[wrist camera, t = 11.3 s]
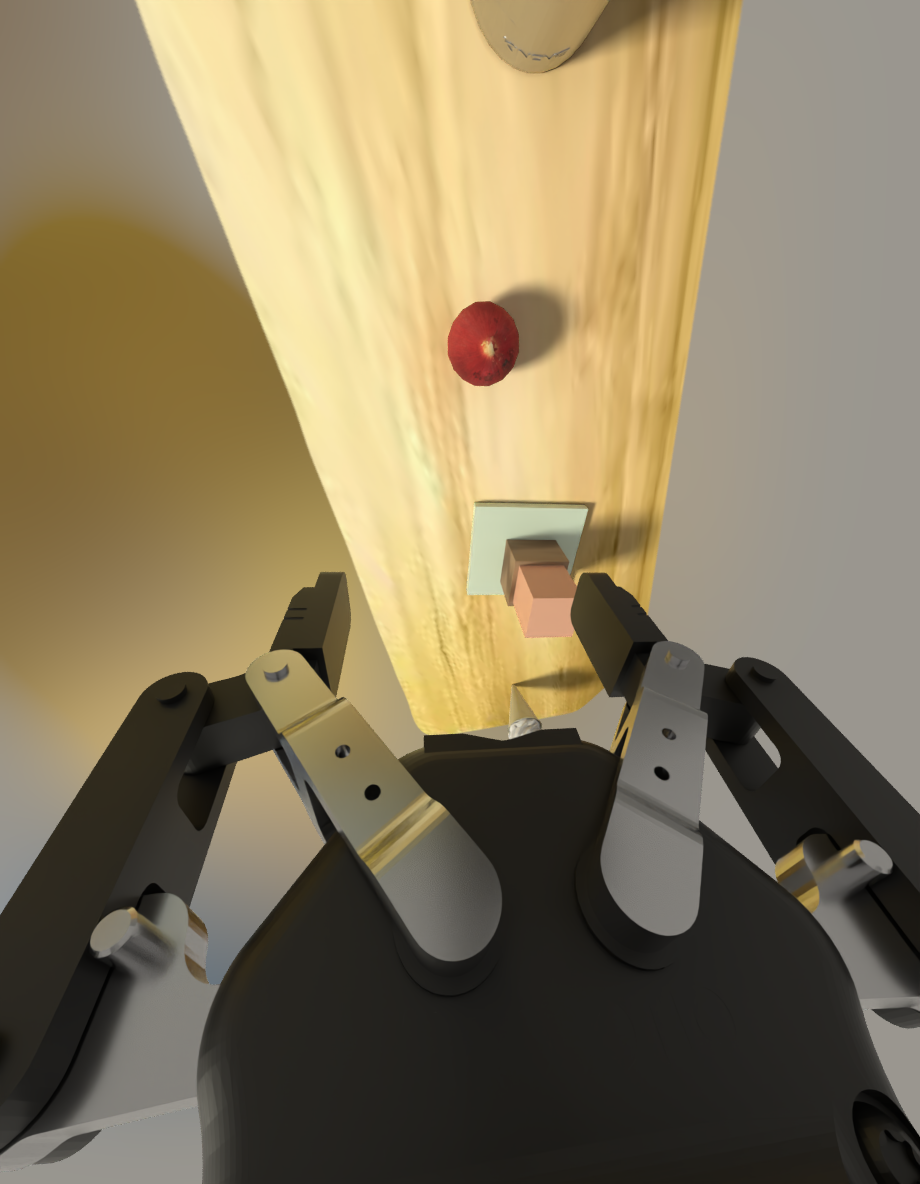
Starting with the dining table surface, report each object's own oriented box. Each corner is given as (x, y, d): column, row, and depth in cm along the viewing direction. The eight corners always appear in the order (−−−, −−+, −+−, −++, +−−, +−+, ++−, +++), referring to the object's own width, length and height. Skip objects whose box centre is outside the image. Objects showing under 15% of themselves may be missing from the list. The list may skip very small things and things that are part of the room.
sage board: (474, 502, 43) (475, 506, 42) (584, 504, 45) (588, 508, 44) (466, 589, 50) (467, 594, 49) (562, 589, 52) (565, 594, 51)
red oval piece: (522, 342, 35) (546, 347, 28) (477, 394, 37) (491, 410, 30) (476, 285, 32) (492, 277, 26) (431, 345, 34) (436, 352, 28)
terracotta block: (519, 565, 41) (533, 598, 37) (563, 565, 42) (583, 597, 37) (512, 602, 44) (525, 637, 39) (554, 602, 45) (571, 636, 40)
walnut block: (506, 539, 45) (515, 561, 41) (555, 539, 46) (569, 561, 42) (500, 581, 49) (508, 606, 45) (546, 581, 49) (557, 605, 45)
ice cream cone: (492, 691, 63) (510, 781, 50) (507, 671, 60) (531, 760, 48) (517, 698, 64) (542, 787, 52) (534, 679, 62) (564, 767, 50)
